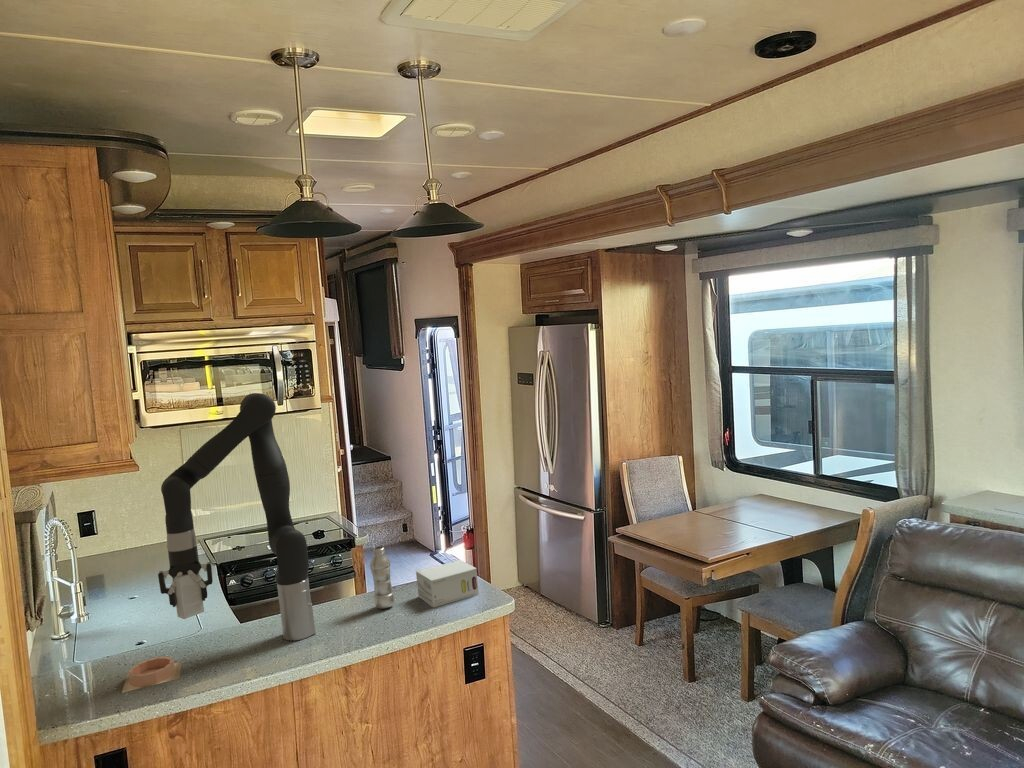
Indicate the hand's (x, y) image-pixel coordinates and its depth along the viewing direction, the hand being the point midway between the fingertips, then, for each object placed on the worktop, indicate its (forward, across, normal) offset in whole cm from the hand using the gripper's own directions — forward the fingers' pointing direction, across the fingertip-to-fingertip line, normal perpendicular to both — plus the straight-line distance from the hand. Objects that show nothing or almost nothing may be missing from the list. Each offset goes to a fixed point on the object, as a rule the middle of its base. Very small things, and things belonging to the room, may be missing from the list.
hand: (189, 603), depth 202 cm
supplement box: (+18, -78, -7) cm, 80 cm away
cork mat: (+18, +11, +2) cm, 21 cm away
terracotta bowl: (+18, +11, +2) cm, 21 cm away
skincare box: (+4, 0, 0) cm, 4 cm away
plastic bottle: (+18, -57, -10) cm, 61 cm away
